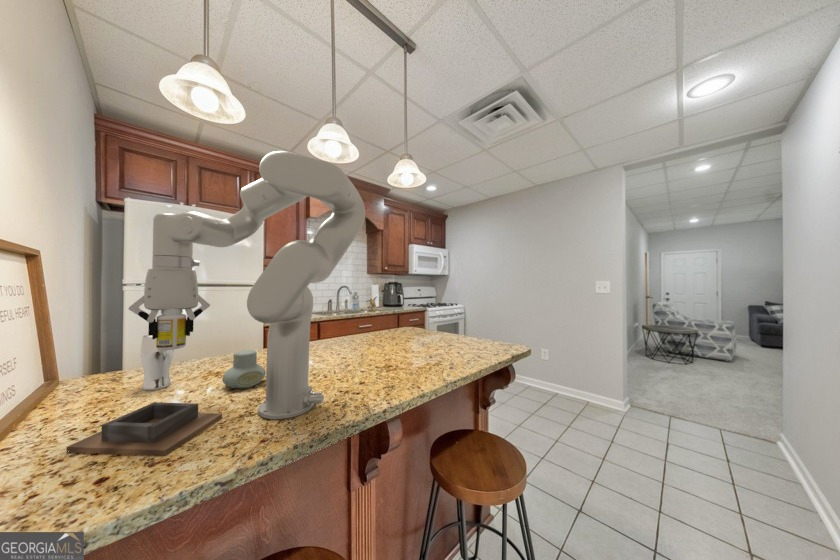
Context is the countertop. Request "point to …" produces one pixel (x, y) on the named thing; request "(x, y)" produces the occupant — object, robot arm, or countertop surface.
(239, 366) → the air freshener
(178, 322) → the supplement bottle
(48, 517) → the countertop surface
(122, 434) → the tray
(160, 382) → the beer glass
